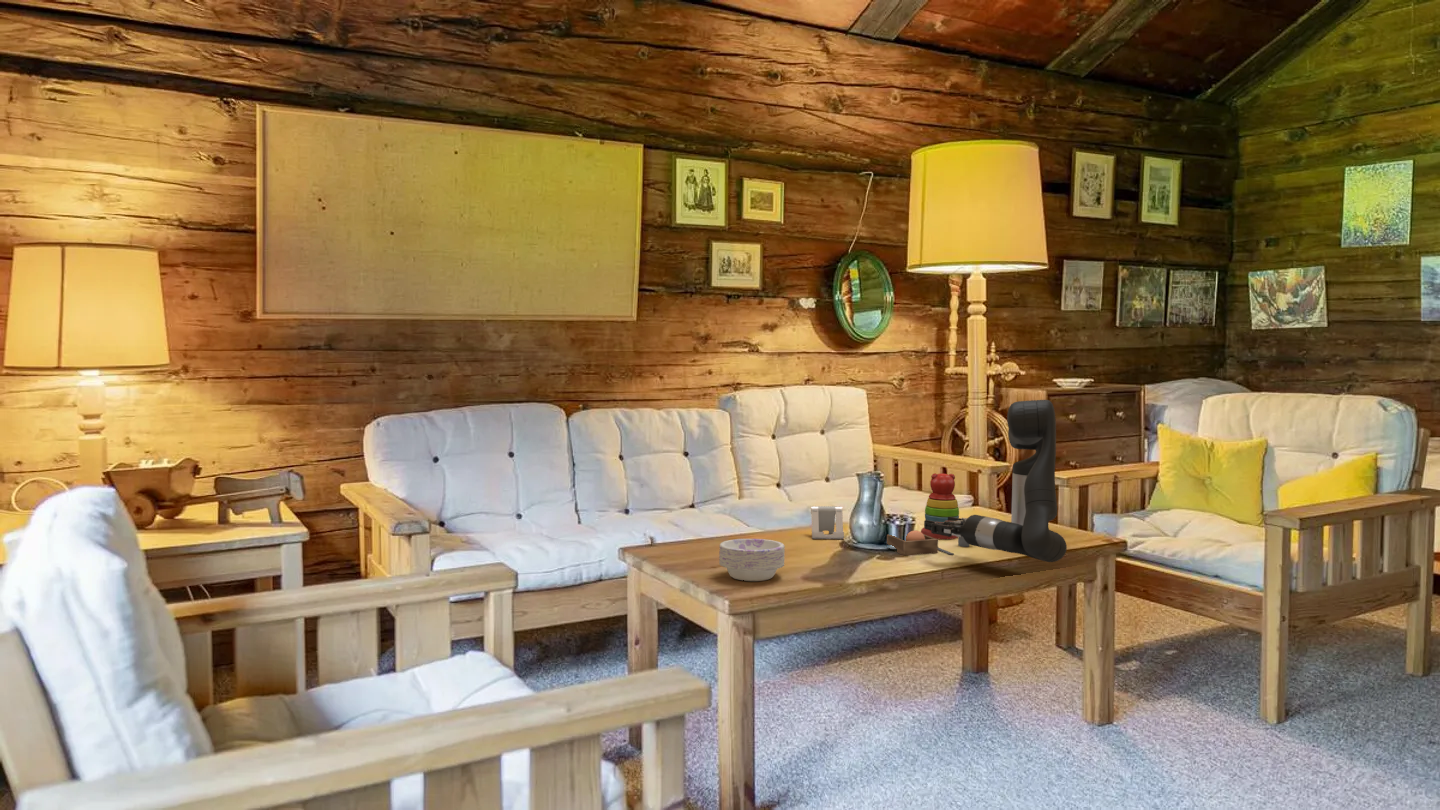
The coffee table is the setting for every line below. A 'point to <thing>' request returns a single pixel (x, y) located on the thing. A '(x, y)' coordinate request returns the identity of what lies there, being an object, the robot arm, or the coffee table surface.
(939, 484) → the stacking bear
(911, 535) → the ball
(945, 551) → the finish line
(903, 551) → the shallow wooden crate
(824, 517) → the portable electronic device stand
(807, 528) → the coffee table surface
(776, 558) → the paper bowls
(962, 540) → the tee
